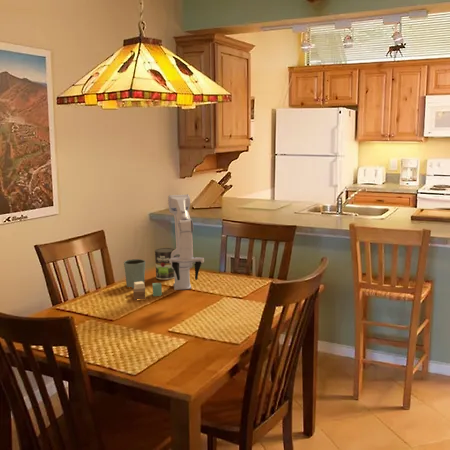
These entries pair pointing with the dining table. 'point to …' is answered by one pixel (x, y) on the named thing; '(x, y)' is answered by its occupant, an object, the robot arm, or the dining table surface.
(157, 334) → the dining table surface
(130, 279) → the teal cup
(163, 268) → the coffee can
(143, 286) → the cream block
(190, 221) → the robot arm
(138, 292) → the walnut block
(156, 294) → the teal block
